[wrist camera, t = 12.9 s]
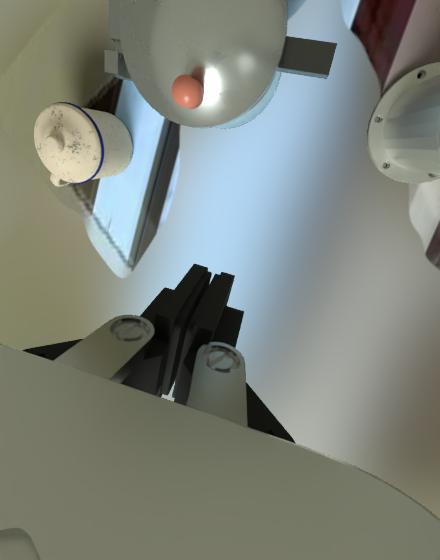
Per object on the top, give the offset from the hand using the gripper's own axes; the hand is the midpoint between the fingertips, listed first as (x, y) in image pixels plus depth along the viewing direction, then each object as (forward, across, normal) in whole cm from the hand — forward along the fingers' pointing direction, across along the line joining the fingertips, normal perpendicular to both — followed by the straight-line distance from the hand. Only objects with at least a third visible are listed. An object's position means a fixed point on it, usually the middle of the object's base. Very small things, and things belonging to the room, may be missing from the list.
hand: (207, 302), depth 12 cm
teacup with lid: (+34, +25, +1) cm, 42 cm away
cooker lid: (+22, +9, -13) cm, 28 cm away
